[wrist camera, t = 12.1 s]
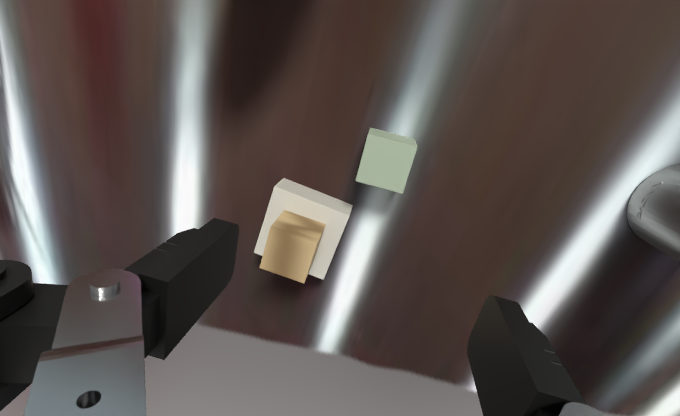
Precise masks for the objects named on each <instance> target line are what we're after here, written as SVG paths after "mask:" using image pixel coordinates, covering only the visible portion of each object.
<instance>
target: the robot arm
mask: <svg viewBox="0 0 680 416" xmlns="http://www.w3.org/2000/svg"><path fill="white" fill-rule="evenodd" d="M627 220H628V223H629V226H630V228H631V229H632V231H633V232H634V233H635V234H636V235H637V236H638V237H639V238H641V239H642V240H644V241H646V242H647V243H649V244H650V245H652V246H654V247H655V248H657V249H658V250H660V251H662V252H663V253H665V254H666V255H668V256H669V257H671V258H673V259H674V260H676V261H677V262H679V263H680V164H677V165H673V166H670V167H666V168H664V169H662V170H660V171H657V172H655V173H654V174H652V175H651V176H649V177H648V178H647V179H645V180H644V181H643V182H642V183H641V184H640V185H639V186H638V187H637V189H636V190H635V192H634V193H633V194H632V197H631V199H630V201H629V204H628V209H627ZM238 235H239V227H238V225H237V224H234V223H231V222H227V221H223V220H220V219H216V218H214V219H212V220H211V221H209V222H208V223H207V224H205V225H204V226H203V227H201V228H200V229H195V228H193V229H190V230H186V231H183V232H180V233H177V234H176V235H174V236H173V237H171V238H170V239H168V240H167V241H166V243H165V242H164V243H163V244H161V245H160V246H158V247H157V249H154V250H152V251H151V252H149V253H148V254H147V255H145V256H144V257H142V258H141V259H139V260H138V261H136V262H135V263H133V264H132V265H130V266H129V267H127V268H126V269H125V270H120V269H104V270H98V271H93V272H90V273H87V274H84V275H82V276H80V277H78V278H76V279H75V280H73V281H72V282H71V283H70V284H69V285H55V284H38V283H33V280H32V272H31V269H30V267H29V266H28V265H26V264H24V263H22V262H18V261H12V260H0V411H1V410H2V409H3V408H4V407H6V405H8V404H9V403H10V402H11V401H12V400H13V399H15V398H16V397H17V396H18V395H19V394H20V393H21V392H22V391H24V390H25V389H26V388H27V387H28V386H29V385H30V384H31V383H32V386H31V389H30V393H29V397H28V400H27V404H26V408H25V411H24V415H23V416H146V390H145V360H144V359H145V358H146V357H147V356H148V355H150V356H153V357H156V358H160V359H163V360H165V358H166V357H167V356H168V355H169V353H170V352H171V351H172V350H173V349H174V347H175V346H176V345H177V344H178V343H179V342H180V340H181V339H182V338H183V337H184V336H185V335H186V333H187V332H188V331H189V330H190V329H191V327H192V326H193V325H194V324H195V323H196V322H197V320H198V319H199V318H200V317H201V316H202V314H203V313H204V312H205V311H206V310H207V309H208V307H209V306H210V305H211V304H212V303H213V301H214V300H215V299H216V298H217V297H218V295H219V294H220V293H221V292H222V291H223V290H224V288H225V287H226V286H227V285H228V283H229V281H230V279H231V277H232V274H233V271H234V266H235V258H236V251H237V243H238ZM467 351H468V358H469V362H470V366H471V370H472V374H473V377H474V381H475V385H476V389H477V393H478V397H479V401H480V404H481V408H482V412H483V416H606V415H605V414H603V413H602V412H600V411H598V410H597V409H595V408H593V407H590V406H588V405H586V403H585V401H584V400H583V398H582V396H581V394H580V393H579V391H578V389H577V388H576V386H575V384H574V383H573V381H572V379H571V378H570V376H569V374H568V372H567V371H566V369H565V367H563V366H562V362H561V361H560V359H559V357H558V355H557V354H555V350H554V349H553V347H552V345H551V344H550V342H549V340H548V339H547V337H546V336H545V335H544V334H543V333H542V332H541V331H540V330H539V329H538V328H537V327H536V326H535V325H534V324H533V323H529V321H528V319H527V318H526V316H525V314H524V312H523V310H522V309H521V307H520V305H519V304H518V303H517V302H515V301H511V300H507V299H504V298H500V297H497V296H493V295H491V296H489V297H488V298H487V299H486V301H485V303H484V305H483V308H482V310H481V312H480V314H479V316H478V319H477V321H476V323H475V325H474V327H473V330H472V332H471V334H470V337H469V341H468V349H467Z"/></svg>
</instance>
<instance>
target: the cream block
mask: <svg viewBox="0 0 680 416" xmlns="http://www.w3.org/2000/svg"><path fill="white" fill-rule="evenodd" d="M352 206H353V205H351V204H348V203H346V202H343V201H341V200H338V199H336V198H333V197H331V196H328V195H326V194H323V193H321V192H318V191H316V190H313V189H310V188H308V187H305V186H303V185H300V184H298V183H295V182H293V181H290V180H288V179H285V178H283V179H282V180H281V181H280V182H279V183H277V184H276V185H275V186H274V189H273V193H272V196H271V199H270V202H269V206H268V209H267V212H266V215H265V219H264V222H263V225H262V228H261V231H260V235H259V238H258V241H257V244H256V248H255V251H254V253H257V254H259V255H262V256H263V253H264V249H265V245H266V242H267V238H268V234H269V230H270V227H271V226H272V224H273V223H274V222H275V221H276V220H277V218H278V217H279V216H280V215H281V213H282V212H283V211H284V210H286V211H289V212H292V213H295V214H298V215H300V216H303V217H306V218H309V219H312V220H315V221H318V222H320V223H323V224H326V225H325V228H324V231H323V234H322V237H321V241H320V244H319V247H318V250H317V253H316V256H315V259H314V261H313V264H312V266H311V269H310V271H309V273H308V274H310V275H312V276H315V277H317V278H320V279H322V280H323V279H324V277H325V275H326V272H327V270H328V267H329V265H330V262H331V260H332V257H333V255H334V253H335V250H336V248H337V245H338V243H339V240H340V238H341V236H342V233H343V231H344V228H345V226H346V223H347V221H348V218H349V216H350V213H351V209H352Z"/></svg>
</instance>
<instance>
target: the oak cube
mask: <svg viewBox="0 0 680 416" xmlns="http://www.w3.org/2000/svg"><path fill="white" fill-rule="evenodd" d="M325 225H326V224H323V223H320V222H318V221H315V220H312V219H309V218H306V217H303V216H300V215H298V214H295V213H292V212H289V211H286V210H284V211H283V212H282V213H281V215H280V216H279V217H278V218H277V220H276V221H275V222H274V223H273V224H272V226H271V227H270V230H269V234H268V238H267V242H266V245H265V249H264V253H263V257H262V260H261V264H260V268H261V269H264V270H267V271H270V272H273V273H276V274H278V275H281V276H284V277H287V278H290V279H293V280H295V281H298V282H301V283H305V280H306V278H307V276H308V273H309V271H310V269H311V266H312V264H313V261H314V259H315V256H316V253H317V250H318V247H319V244H320V241H321V237H322V234H323V231H324V228H325Z"/></svg>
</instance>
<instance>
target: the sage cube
mask: <svg viewBox="0 0 680 416" xmlns="http://www.w3.org/2000/svg"><path fill="white" fill-rule="evenodd" d="M416 150H417V144H416V142H415V139H412V138H409V137H405V136H401V135H397V134H393V133H389V132H386V131H382V130H378V129H374V128H370V130H369V133H368V136H367V140H366V143H365V147H364V151H363V155H362V158H361V162H360V166H359V170H358V174H357V177H356V181H357V182H361V183H365V184H368V185H372V186H376V187H379V188H383V189H387V190H391V191H394V192H398V193H402V194H403V190H404V187H405V184H406V181H407V178H408V175H409V172H410V169H411V166H412V162H413V159H414V156H415V153H416Z"/></svg>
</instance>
